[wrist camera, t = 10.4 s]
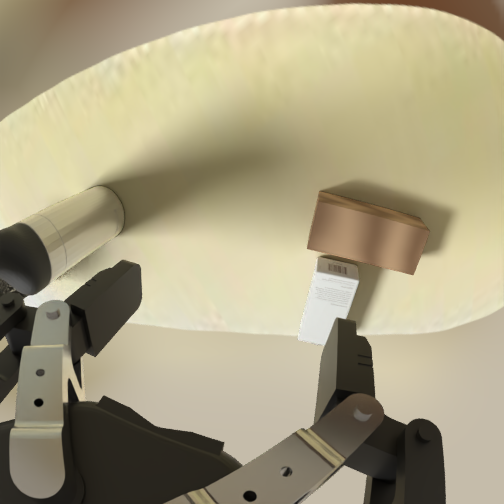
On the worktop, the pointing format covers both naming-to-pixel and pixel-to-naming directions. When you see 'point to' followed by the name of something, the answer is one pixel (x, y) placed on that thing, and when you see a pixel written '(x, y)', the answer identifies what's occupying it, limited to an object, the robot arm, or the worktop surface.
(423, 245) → the walnut ledge
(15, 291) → the whiskey bottle
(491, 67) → the worktop surface
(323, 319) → the skincare box
